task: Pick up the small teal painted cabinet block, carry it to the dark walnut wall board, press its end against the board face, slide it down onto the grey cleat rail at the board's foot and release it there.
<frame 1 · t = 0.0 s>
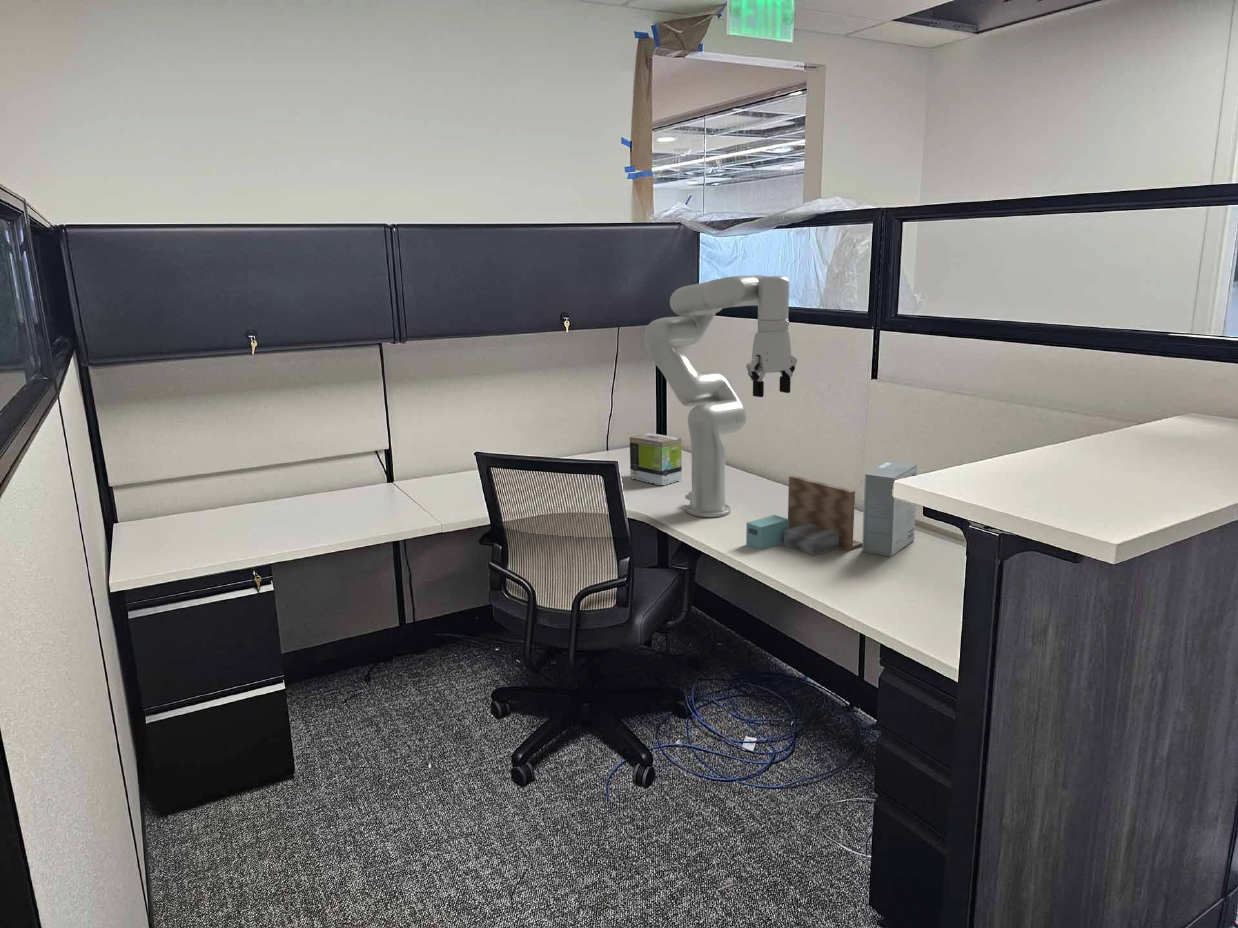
hand: (771, 394, 210), 37 cm above the table, tool pointing down, fingers open, 9 cm apart
hard drive box: (888, 546, 205), on the table
wall board: (818, 539, 211), on the table
tea box: (655, 480, 273), on the table
cabinet block: (767, 543, 210), on the table
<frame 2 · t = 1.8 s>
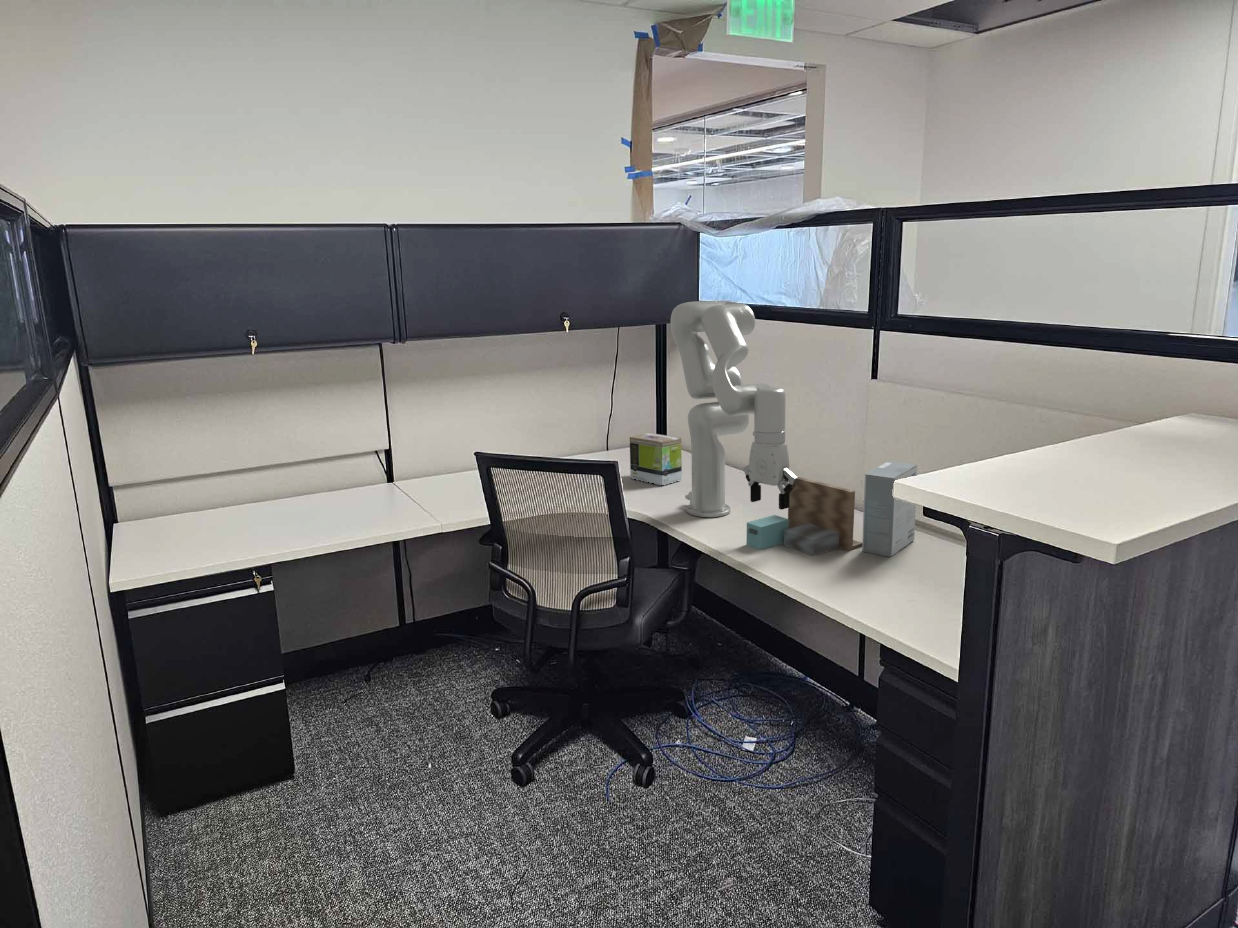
hand: (769, 504, 206), 10 cm above the table, tool pointing down, fingers open, 9 cm apart
nothing on the table moved.
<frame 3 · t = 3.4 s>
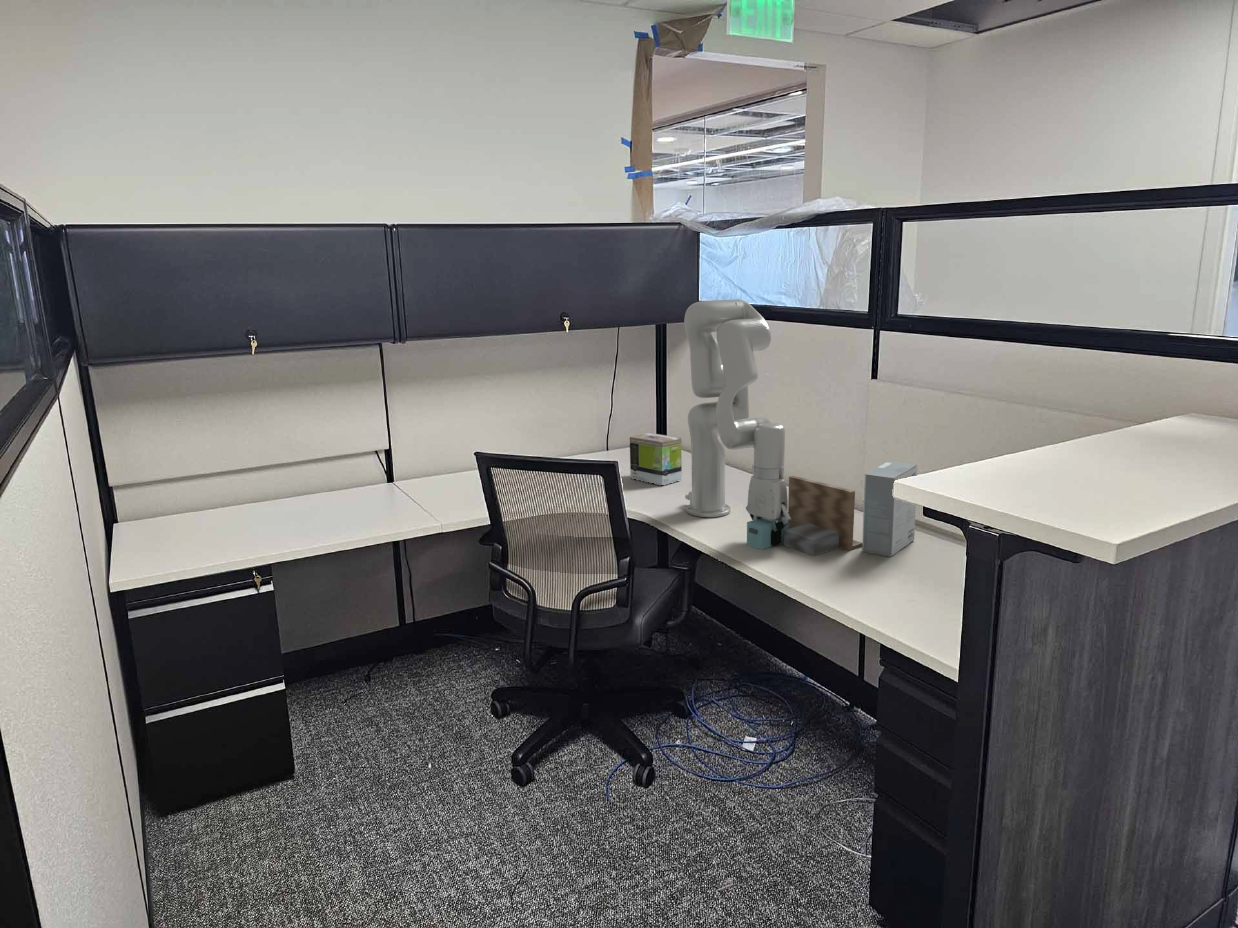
hand: (767, 540, 209), 1 cm above the table, tool pointing down, fingers closed on cabinet block, 5 cm apart
cabinet block: (767, 542, 209), on the table, touching gripper
everything else where it was.
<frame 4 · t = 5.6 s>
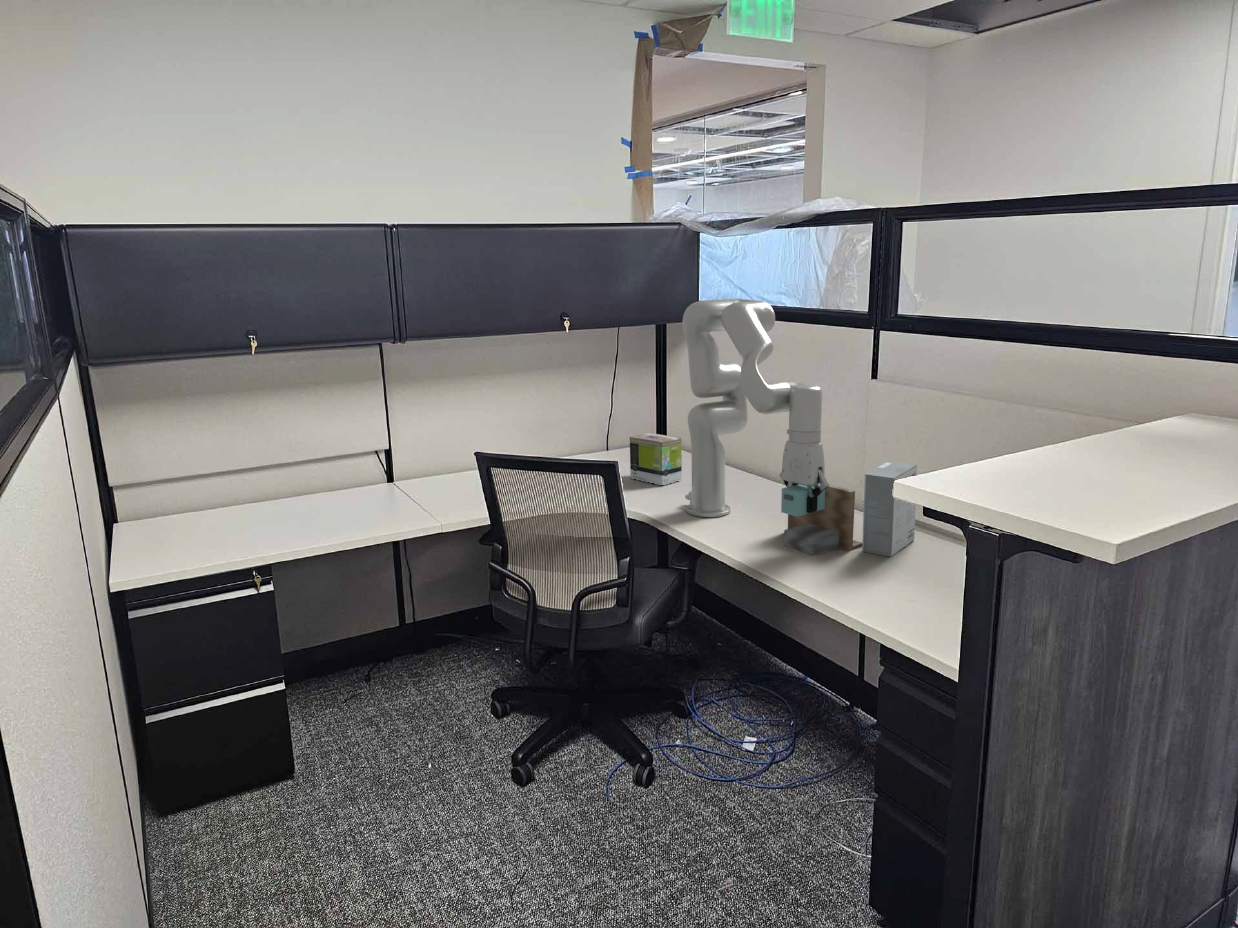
hand: (802, 508, 201), 11 cm above the table, tool pointing down, fingers closed on cabinet block, 5 cm apart
cabinet block: (802, 510, 202), point 10 cm above the table, touching gripper
everything else where it was.
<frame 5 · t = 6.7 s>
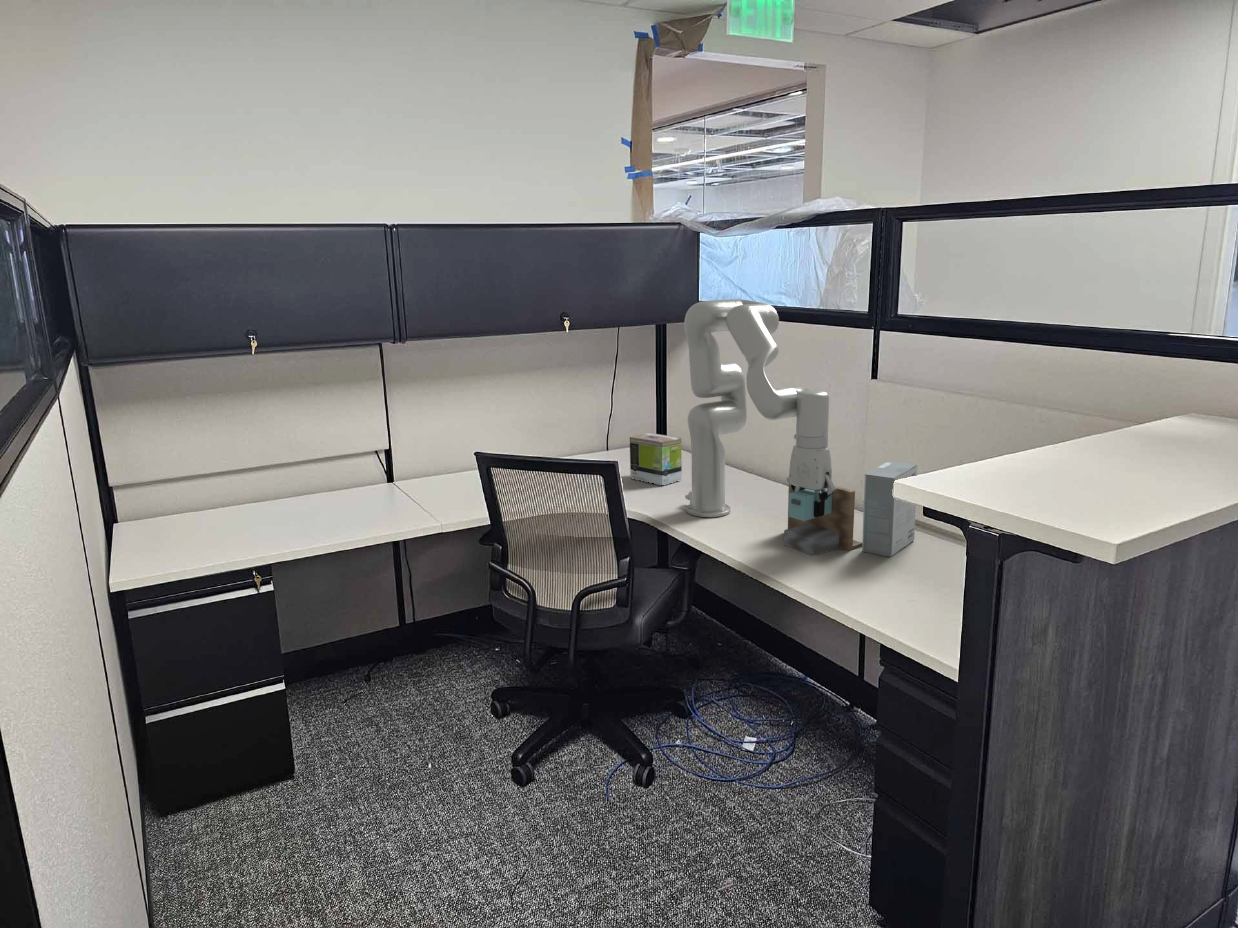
hand: (809, 512, 203), 9 cm above the table, tool pointing down, fingers closed on cabinet block, 5 cm apart
cabinet block: (810, 514, 203), point 8 cm above the table, touching gripper
everything else where it was.
when the fingers open (5 cm above the table, at t = 7.8 s): cabinet block stays where it is, resting on wall board.
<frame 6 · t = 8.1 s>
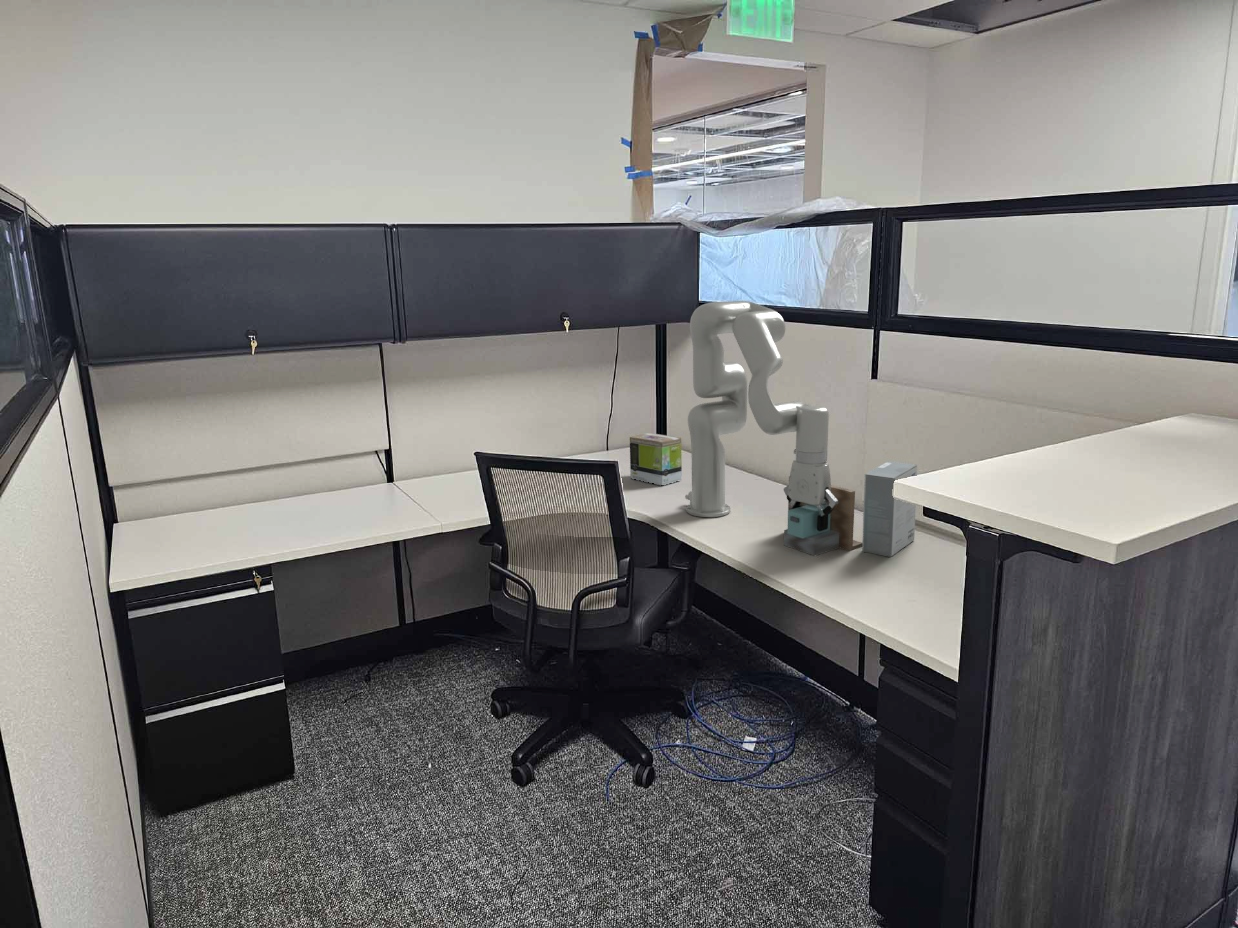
hand: (809, 525, 204), 6 cm above the table, tool pointing down, fingers open, 7 cm apart
cabinet block: (808, 531, 205), point 4 cm above the table, touching wall board
everything else where it was.
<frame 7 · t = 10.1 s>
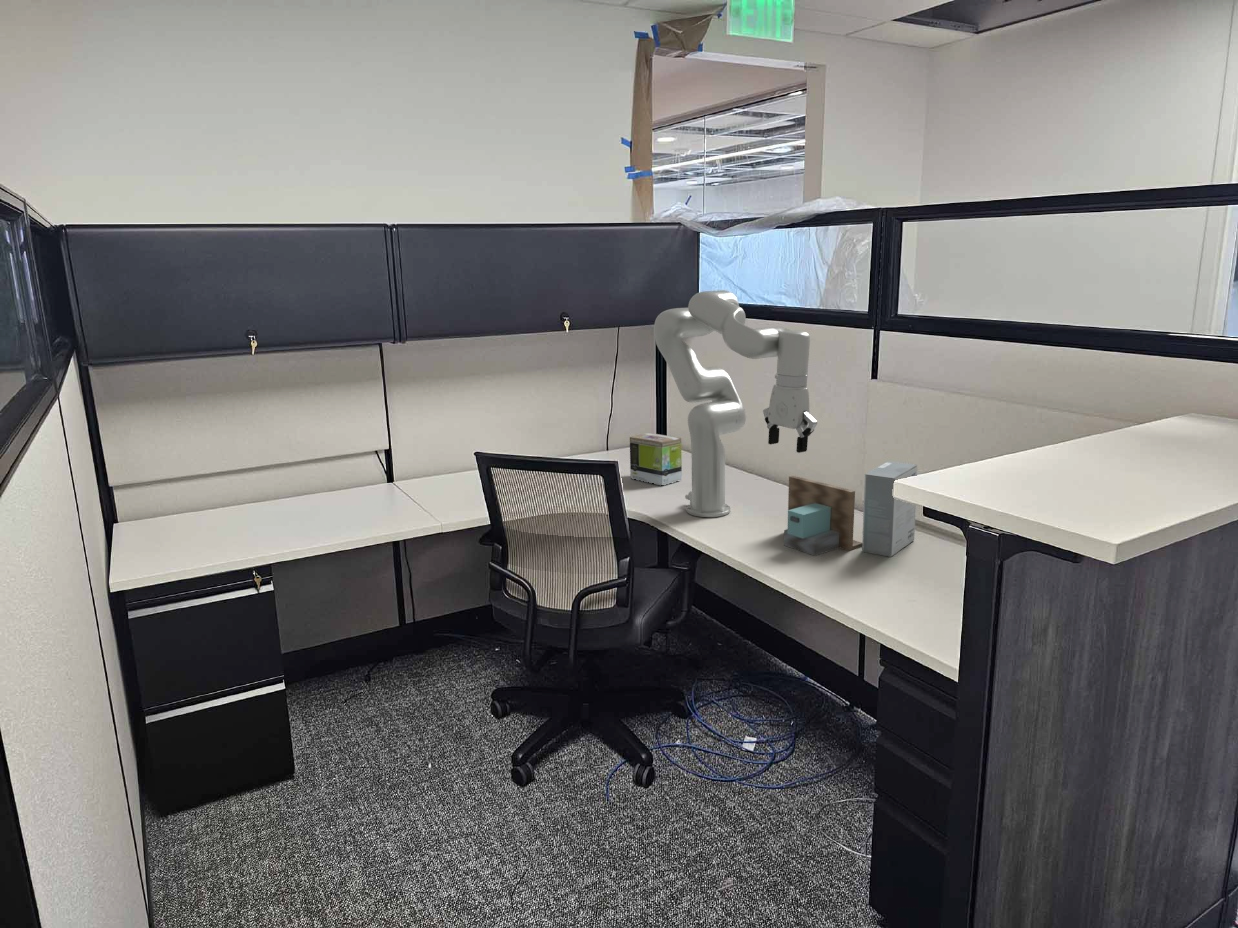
hand: (787, 447, 209), 24 cm above the table, tool pointing down, fingers open, 9 cm apart
nothing on the table moved.
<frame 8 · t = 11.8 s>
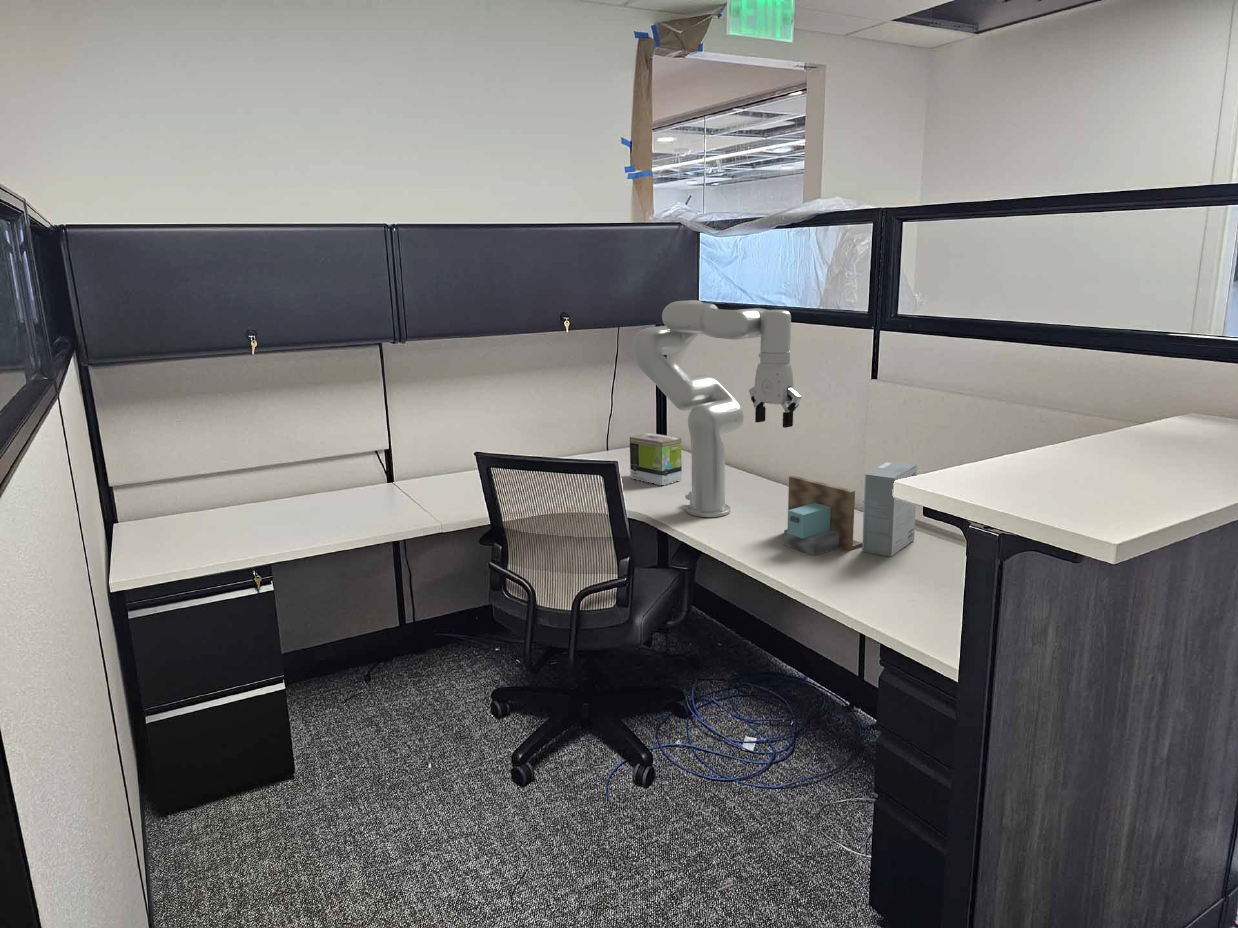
hand: (773, 424, 215), 28 cm above the table, tool pointing down, fingers open, 9 cm apart
nothing on the table moved.
at the end: cabinet block inside the target area on the wall board (0.4 cm from its centre), point 4.0 cm above the wall board's base; cabinet block tilted 0°; the gripper is holding nothing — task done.
